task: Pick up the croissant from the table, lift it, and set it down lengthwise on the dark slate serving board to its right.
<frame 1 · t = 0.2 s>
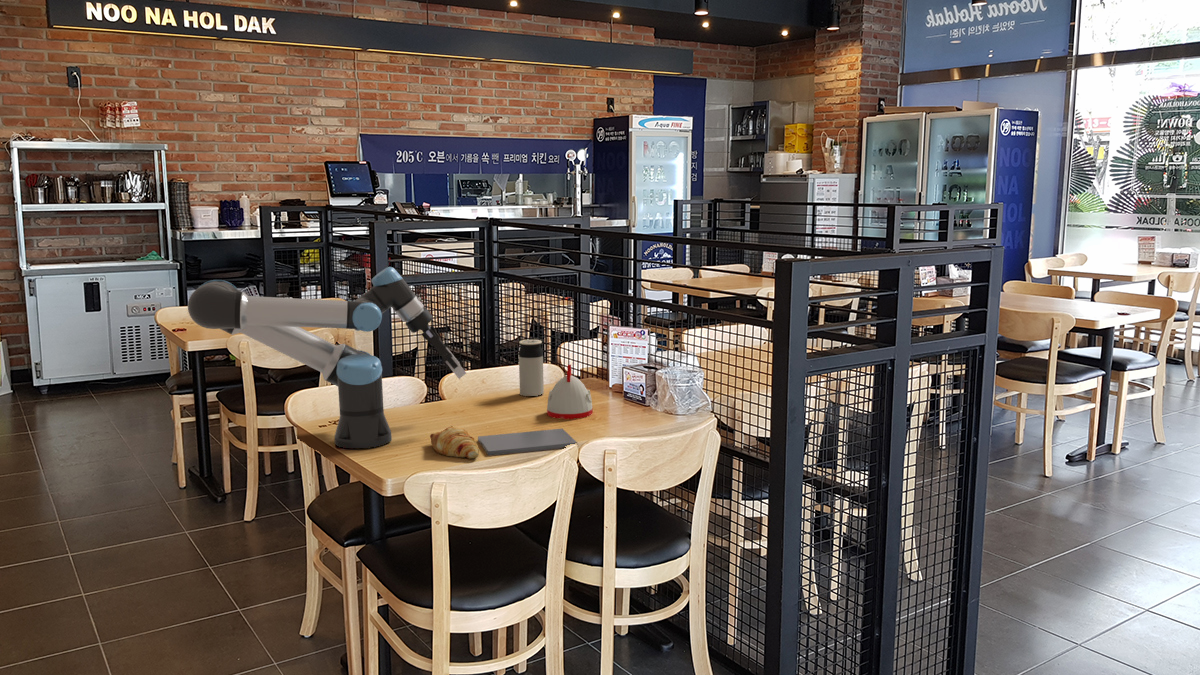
hand: (459, 371, 269), 15 cm above the table, tool tilted 35°, fingers open, 13 cm apart
croissant: (453, 453, 240), on the table
travel mug: (531, 395, 305), on the table
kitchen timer: (569, 414, 280), on the table
slate board: (527, 443, 247), on the table
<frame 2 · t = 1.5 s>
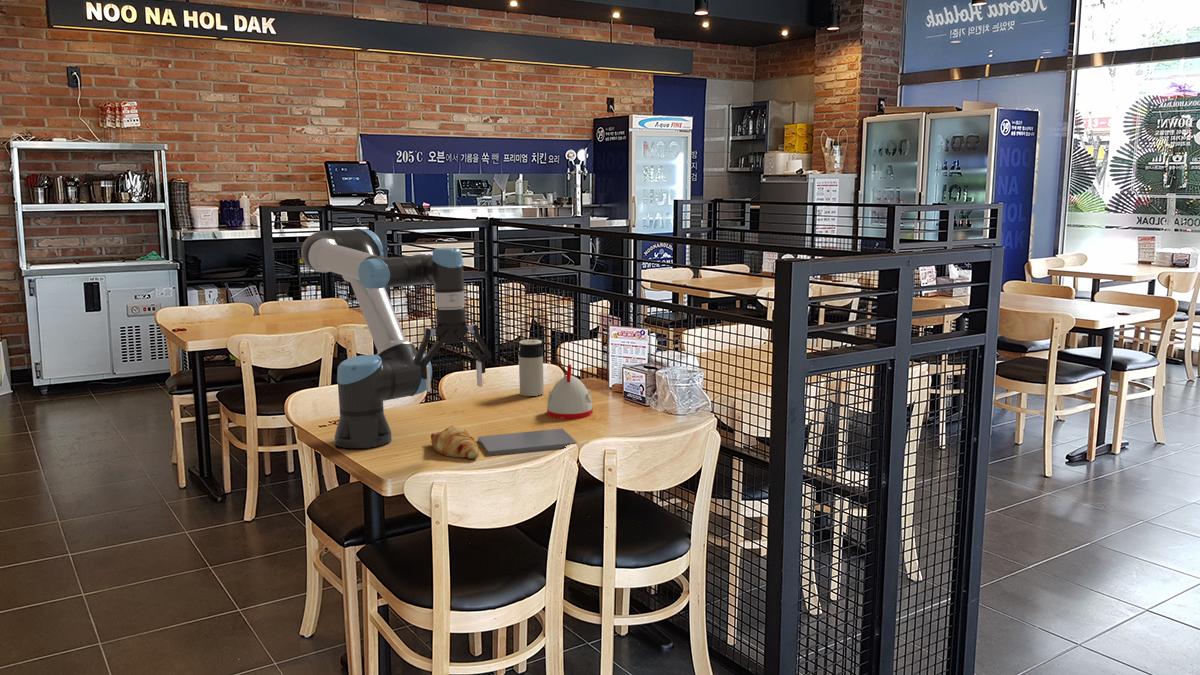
hand: (454, 388, 239), 17 cm above the table, tool pointing down, fingers open, 13 cm apart
nothing on the table moved.
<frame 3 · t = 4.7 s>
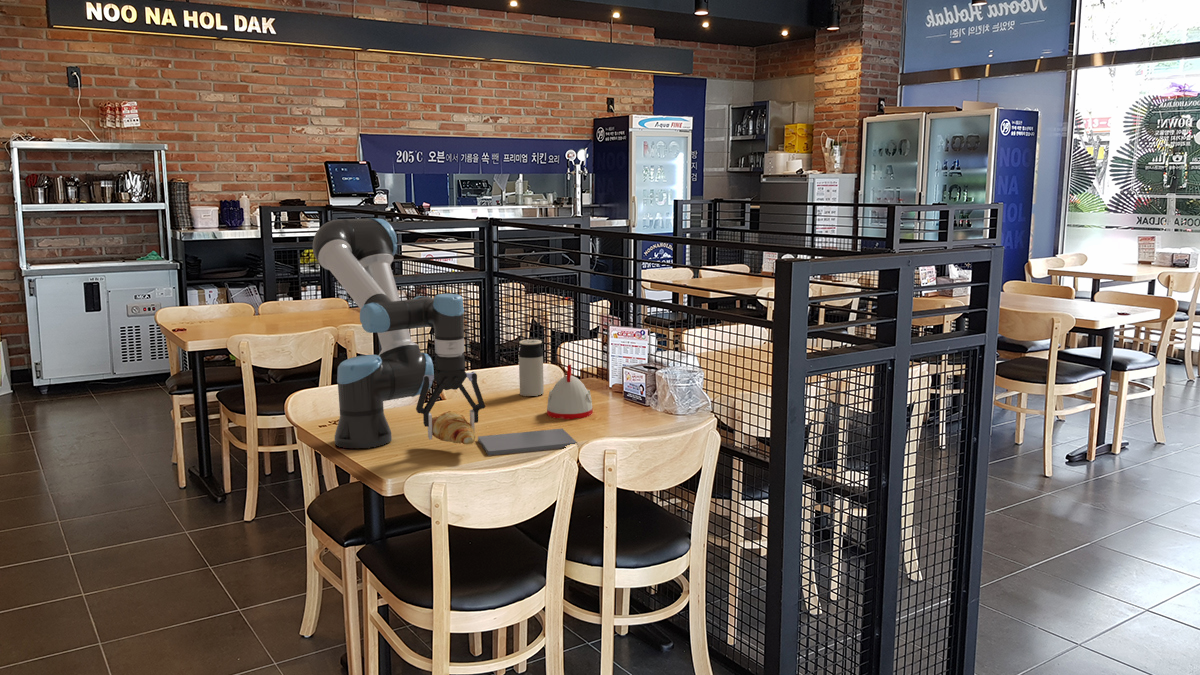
hand: (451, 436, 240), 4 cm above the table, tool pointing down, fingers closed on croissant, 10 cm apart
croissant: (450, 438, 240), point 3 cm above the table, touching gripper
everything else where it was.
when the fingers open (2 cm above the table, at t = 9.1 s): croissant stays where it is, resting on slate board.
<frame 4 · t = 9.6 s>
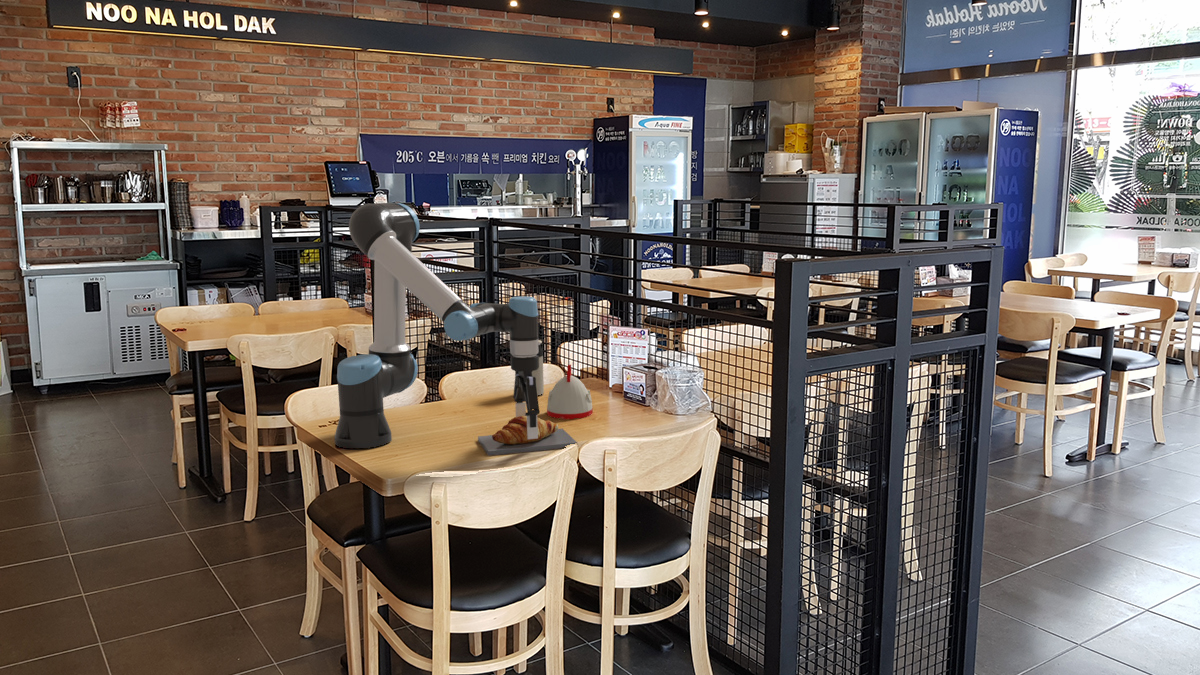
hand: (526, 432, 247), 3 cm above the table, tool pointing down, fingers open, 13 cm apart
croissant: (527, 440, 247), point 1 cm above the table, touching slate board
everything else where it was.
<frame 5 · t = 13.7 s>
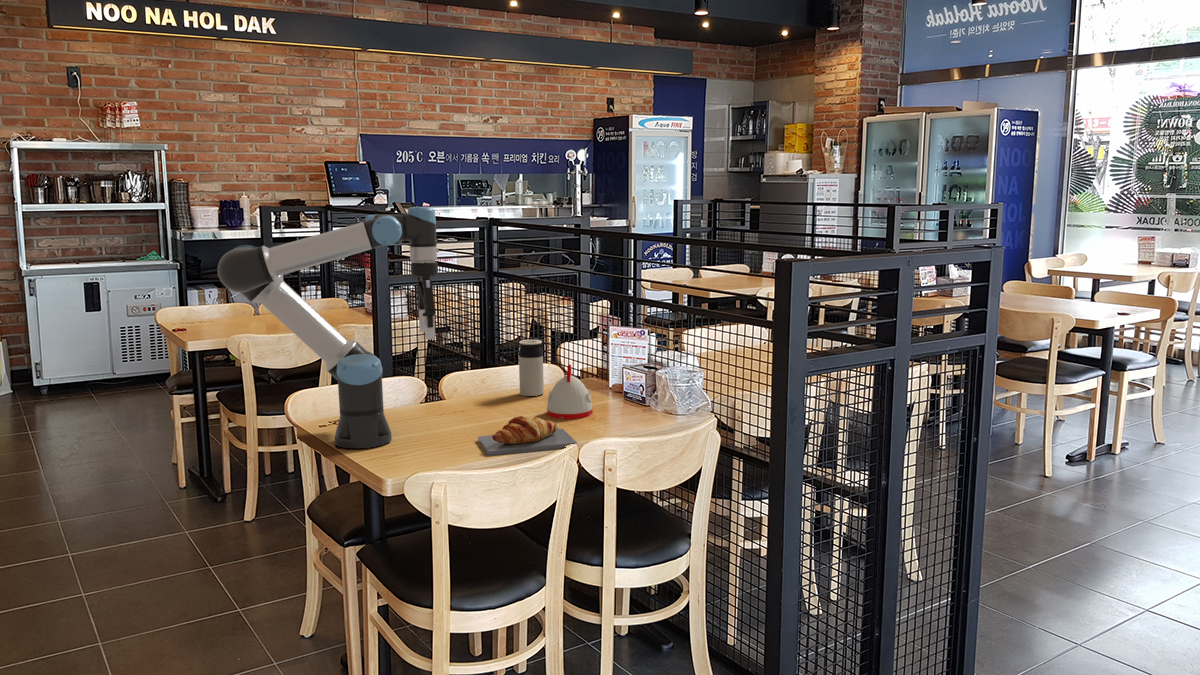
hand: (427, 335, 263), 27 cm above the table, tool pointing down, fingers open, 13 cm apart
nothing on the table moved.
at the end: croissant inside the target area on the slate board (0.2 cm from its centre), point 1.0 cm above the slate board's base; croissant touching slate board; the gripper is holding nothing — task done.
